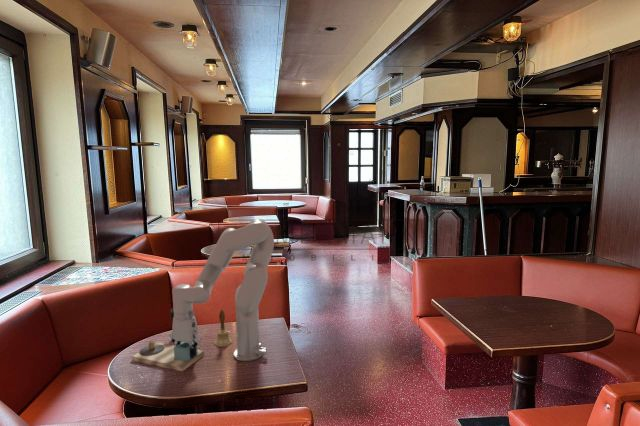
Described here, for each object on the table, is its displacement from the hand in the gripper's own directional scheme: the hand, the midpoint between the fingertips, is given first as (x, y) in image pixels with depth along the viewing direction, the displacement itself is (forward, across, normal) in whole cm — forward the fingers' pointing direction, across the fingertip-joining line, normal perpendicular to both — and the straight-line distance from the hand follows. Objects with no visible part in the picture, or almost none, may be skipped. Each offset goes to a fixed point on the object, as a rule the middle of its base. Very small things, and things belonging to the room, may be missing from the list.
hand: (186, 354), depth 158 cm
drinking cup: (+3, +19, -19) cm, 27 cm away
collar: (+1, 0, 0) cm, 1 cm away
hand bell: (+3, -5, -20) cm, 21 cm away
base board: (+3, +9, 0) cm, 10 cm away
